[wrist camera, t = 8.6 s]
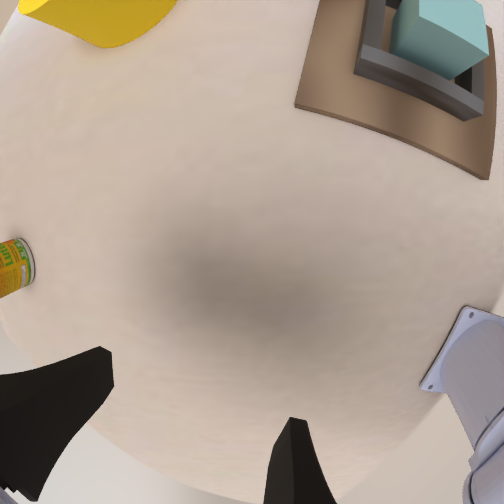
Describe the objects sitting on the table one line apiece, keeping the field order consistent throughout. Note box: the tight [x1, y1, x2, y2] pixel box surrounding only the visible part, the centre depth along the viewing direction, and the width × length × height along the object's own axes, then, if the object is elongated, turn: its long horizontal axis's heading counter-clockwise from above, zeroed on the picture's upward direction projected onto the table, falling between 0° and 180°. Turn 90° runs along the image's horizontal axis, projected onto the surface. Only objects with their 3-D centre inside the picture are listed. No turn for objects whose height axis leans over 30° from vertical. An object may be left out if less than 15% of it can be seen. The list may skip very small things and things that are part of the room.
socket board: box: [295, 0, 497, 180], centre depth 11 cm, size 14×14×4 cm
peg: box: [389, 0, 489, 81], centre depth 9 cm, size 4×4×6 cm
